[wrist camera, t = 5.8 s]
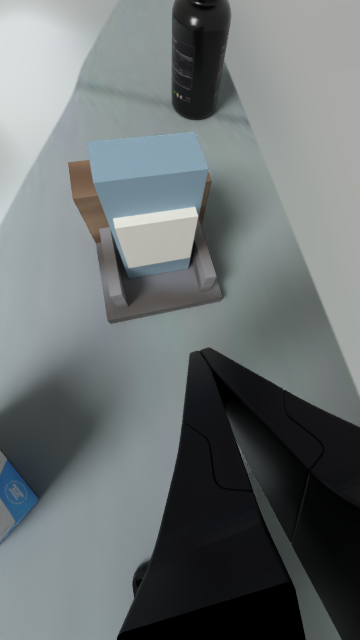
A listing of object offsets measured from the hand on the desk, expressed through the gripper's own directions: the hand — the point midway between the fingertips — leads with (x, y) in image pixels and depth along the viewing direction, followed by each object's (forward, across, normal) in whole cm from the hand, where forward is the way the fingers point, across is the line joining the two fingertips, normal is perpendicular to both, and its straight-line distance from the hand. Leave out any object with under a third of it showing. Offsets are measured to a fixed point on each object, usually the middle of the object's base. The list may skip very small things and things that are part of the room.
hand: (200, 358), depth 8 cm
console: (+18, 0, 0) cm, 18 cm away
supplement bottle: (+35, -12, -18) cm, 41 cm away
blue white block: (+16, 0, -1) cm, 16 cm away
